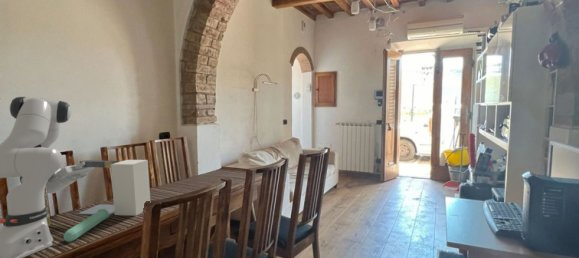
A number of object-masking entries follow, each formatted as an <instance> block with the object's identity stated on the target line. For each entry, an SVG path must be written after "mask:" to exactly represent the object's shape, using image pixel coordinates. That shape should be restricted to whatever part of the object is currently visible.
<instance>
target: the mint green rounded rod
mask: <svg viewBox="0 0 579 258" xmlns="http://www.w3.org/2000/svg"><path fill="white" fill-rule="evenodd" d="M109 217H110V216H109V212H108V211H107V210H106V209H99V210H98V211H97V212H96V213H95V214H93V215H89V216H88V217H87V218H85V219H84V220H82V221H80V222H79V223H78V224H76V225H74V226H72V227H71V228H69V229H67V230H66V231H65V232H64V234H63V240H64V241H66V242H74V241H75V240H77V239H79V238H81V236H83V235H85V234H86V233H88V232H89V231H90V230H92V229H93V228H95V227H96V226H97V225H99V224H101V223H102V222H103V221H106V220H107V219H108V218H109Z"/></svg>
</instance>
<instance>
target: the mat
mask: <svg viewBox="0 0 579 258" xmlns="http://www.w3.org/2000/svg"><path fill="white" fill-rule="evenodd" d="M99 209H106V210H107V211H108V212H109V217H110V216H112V215H115V213H114V204H102V203H101V204H100V203H99V204H96V205H95V206H92V207H90V208H87V209H85V210H82V211H80V212H78V213H77V215H81V216H83V215H84V216H92V215H93V214H95V213H96V212H97V211H98V210H99Z"/></svg>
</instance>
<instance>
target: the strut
mask: <svg viewBox="0 0 579 258" xmlns="http://www.w3.org/2000/svg"><path fill="white" fill-rule="evenodd" d="M82 162H86V165H85V166H83V167H95V168H107V169H111V164H114V163H118V162H119V160H93V159H90V160H87V159H86V160H80V161H79V164H80V163H82Z"/></svg>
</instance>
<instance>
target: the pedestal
mask: <svg viewBox="0 0 579 258" xmlns="http://www.w3.org/2000/svg"><path fill="white" fill-rule="evenodd" d="M110 170H111V182H112V195H113V197H112V199H113V205H114V216H132V217H133V216H135V217H136V216H138V215H140V214H142V213H143V208H144V203H145V202H146V201H150V202H151V191H150V190H151V189H150V174H149V173H150V172H149V161H148V159H126V160H125V159H124V160H122V161H118V163H114V164H111V168H110Z"/></svg>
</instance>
